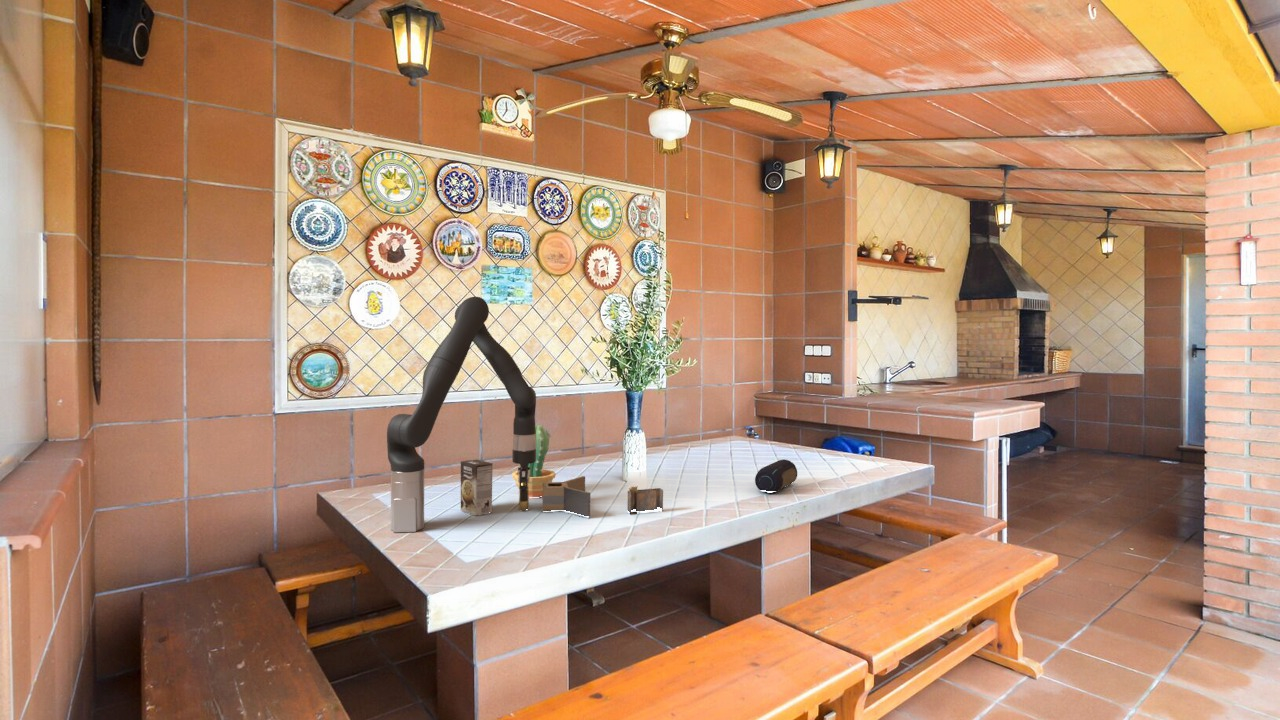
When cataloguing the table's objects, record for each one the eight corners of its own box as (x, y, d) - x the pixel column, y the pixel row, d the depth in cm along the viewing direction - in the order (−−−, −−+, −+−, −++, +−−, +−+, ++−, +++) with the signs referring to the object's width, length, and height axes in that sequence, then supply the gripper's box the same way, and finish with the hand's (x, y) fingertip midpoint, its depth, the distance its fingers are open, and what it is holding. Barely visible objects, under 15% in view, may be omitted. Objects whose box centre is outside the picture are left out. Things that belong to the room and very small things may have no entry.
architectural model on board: (630, 516, 209) (631, 486, 209) (627, 514, 212) (627, 484, 212) (663, 513, 214) (663, 483, 213) (659, 511, 216) (660, 481, 216)
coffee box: (459, 511, 212) (459, 461, 211) (476, 507, 216) (477, 458, 216) (475, 516, 205) (475, 465, 205) (492, 512, 210) (493, 462, 210)
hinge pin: (529, 511, 213) (529, 478, 212) (517, 511, 212) (518, 478, 212) (529, 508, 216) (529, 476, 216) (518, 508, 216) (518, 476, 215)
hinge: (590, 518, 205) (590, 493, 205) (542, 520, 203) (542, 494, 202) (584, 498, 230) (585, 476, 229) (542, 499, 227) (542, 476, 227)
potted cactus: (563, 497, 231) (563, 426, 230) (522, 503, 223) (523, 429, 222) (543, 488, 244) (544, 421, 243) (504, 493, 235) (505, 424, 235)
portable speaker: (778, 497, 236) (778, 469, 235) (751, 493, 241) (752, 466, 240) (800, 484, 257) (800, 459, 257) (775, 481, 262) (776, 456, 262)
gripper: (513, 444, 220) (513, 493, 221) (511, 451, 206) (511, 504, 206) (536, 444, 221) (535, 493, 222) (535, 451, 207) (535, 503, 207)
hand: (523, 498), depth 214 cm, fingers open, 6 cm apart
